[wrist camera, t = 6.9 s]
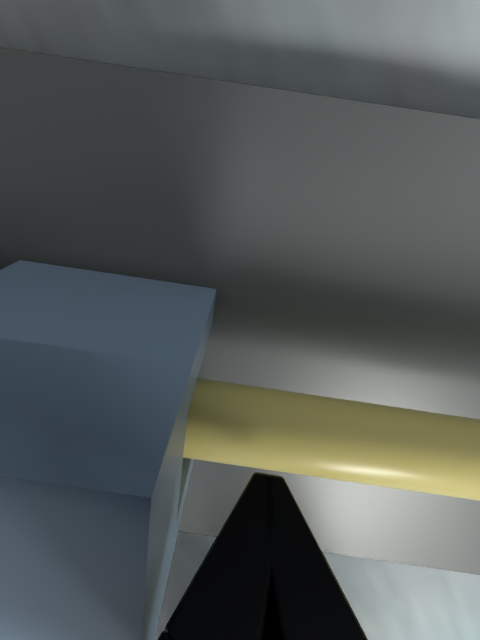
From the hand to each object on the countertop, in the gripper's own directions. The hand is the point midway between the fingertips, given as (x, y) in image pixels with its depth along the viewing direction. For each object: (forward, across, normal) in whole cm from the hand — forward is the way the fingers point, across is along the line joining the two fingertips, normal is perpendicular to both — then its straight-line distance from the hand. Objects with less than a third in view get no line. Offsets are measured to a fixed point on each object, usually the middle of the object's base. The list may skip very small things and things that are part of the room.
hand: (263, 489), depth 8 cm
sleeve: (+4, +4, 0) cm, 6 cm away
